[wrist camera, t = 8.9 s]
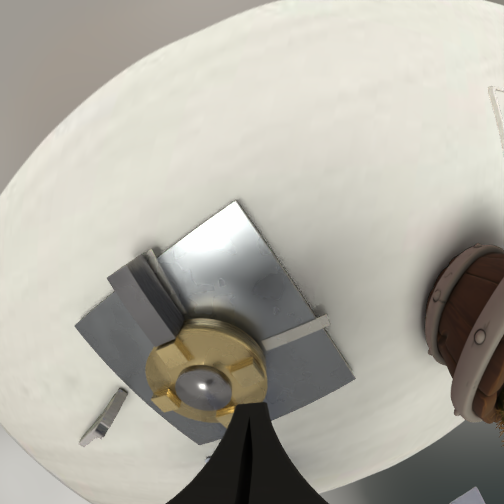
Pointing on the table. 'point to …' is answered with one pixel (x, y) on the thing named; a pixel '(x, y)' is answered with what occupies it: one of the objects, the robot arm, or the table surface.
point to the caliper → (104, 419)
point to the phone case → (497, 112)
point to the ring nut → (191, 352)
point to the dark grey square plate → (227, 318)
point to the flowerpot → (471, 331)
